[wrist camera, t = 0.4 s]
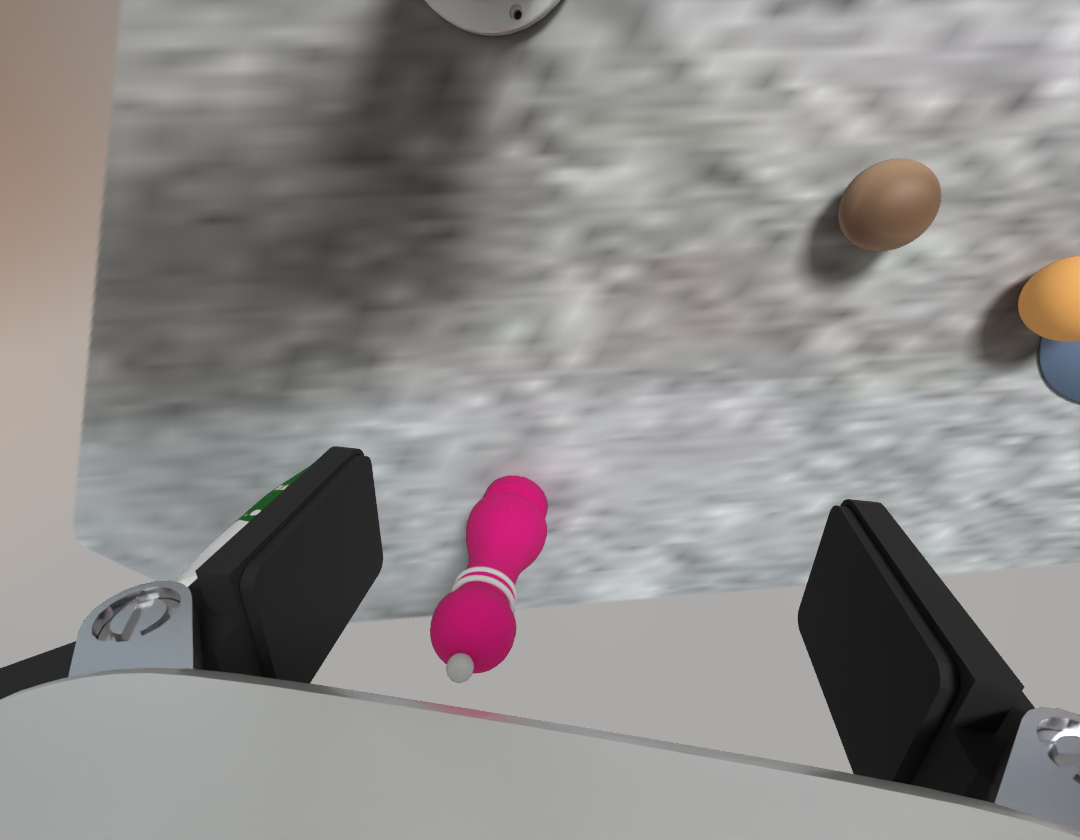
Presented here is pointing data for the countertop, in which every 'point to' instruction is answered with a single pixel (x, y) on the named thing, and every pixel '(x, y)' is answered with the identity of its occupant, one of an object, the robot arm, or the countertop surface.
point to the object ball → (1053, 301)
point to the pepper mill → (490, 578)
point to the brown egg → (889, 204)
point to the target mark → (1061, 366)
